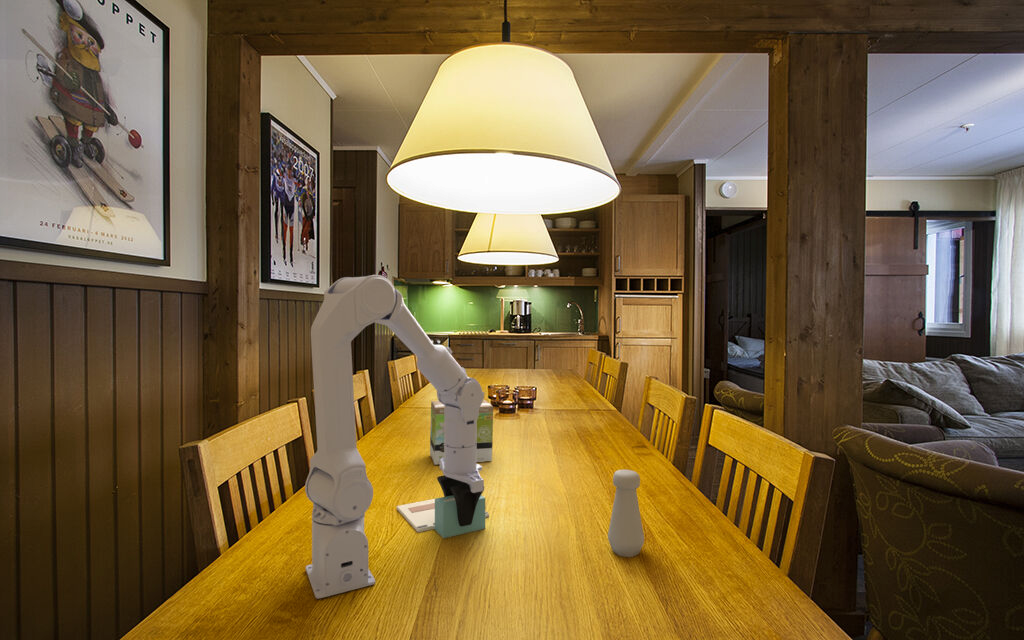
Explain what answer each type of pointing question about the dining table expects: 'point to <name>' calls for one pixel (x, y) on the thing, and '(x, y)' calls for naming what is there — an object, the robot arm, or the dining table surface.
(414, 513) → the white card
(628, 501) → the salt shaker
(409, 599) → the dining table surface
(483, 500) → the teal rectangular block
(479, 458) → the tea box
